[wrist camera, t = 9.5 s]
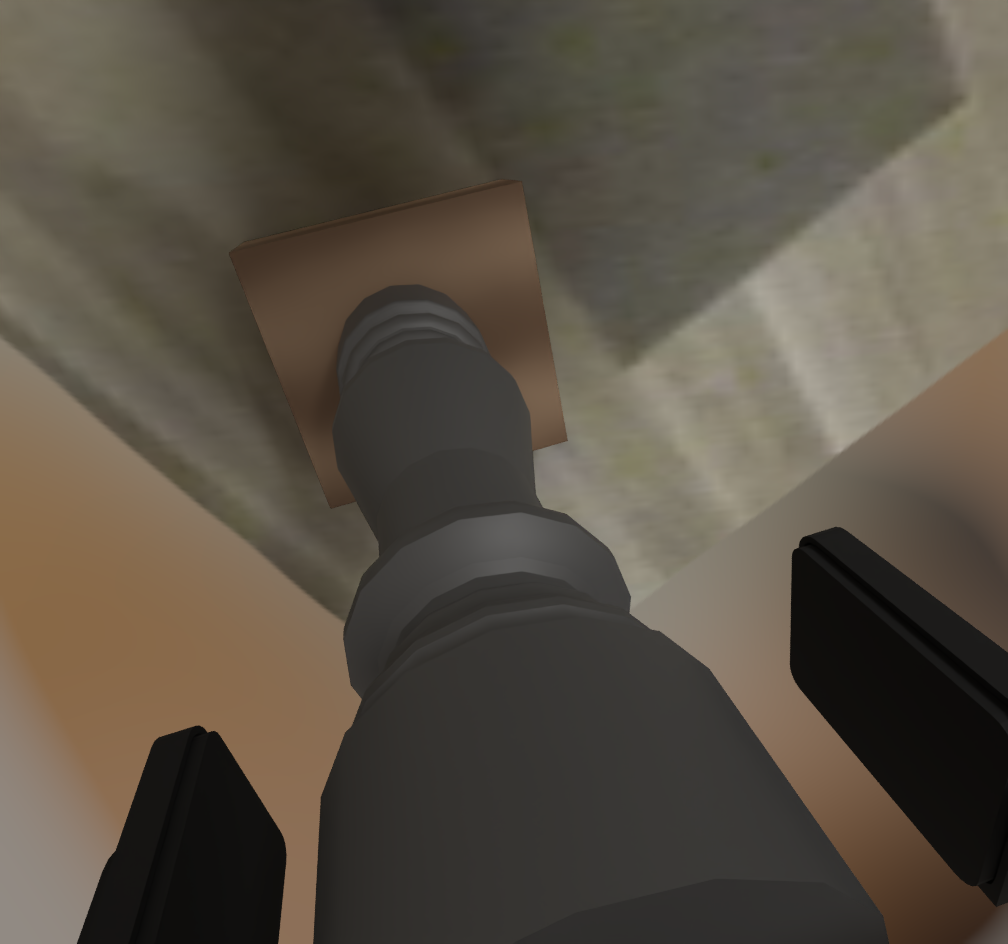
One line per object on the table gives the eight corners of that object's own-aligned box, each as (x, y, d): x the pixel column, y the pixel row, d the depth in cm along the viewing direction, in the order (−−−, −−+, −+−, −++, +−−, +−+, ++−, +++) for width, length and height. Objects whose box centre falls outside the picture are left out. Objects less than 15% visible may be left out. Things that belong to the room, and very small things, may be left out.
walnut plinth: (244, 241, 28) (228, 252, 25) (501, 179, 29) (521, 181, 26) (333, 472, 34) (330, 508, 30) (546, 413, 35) (567, 440, 31)
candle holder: (505, 330, 28) (1032, 913, 6) (435, 442, 30) (661, 1216, 8) (380, 254, 26) (536, 777, 4) (312, 382, 27) (149, 1256, 5)
